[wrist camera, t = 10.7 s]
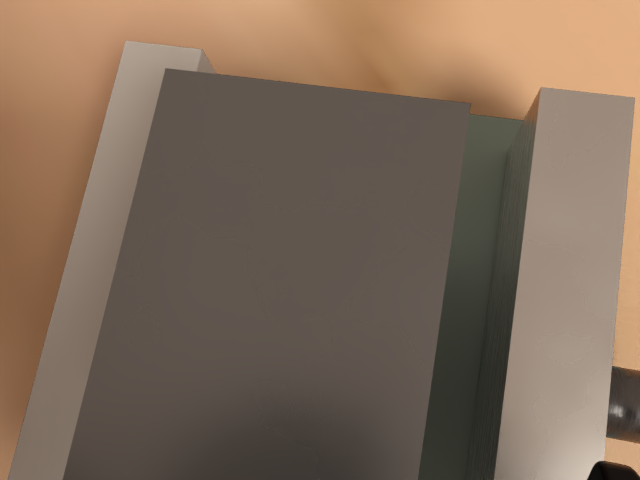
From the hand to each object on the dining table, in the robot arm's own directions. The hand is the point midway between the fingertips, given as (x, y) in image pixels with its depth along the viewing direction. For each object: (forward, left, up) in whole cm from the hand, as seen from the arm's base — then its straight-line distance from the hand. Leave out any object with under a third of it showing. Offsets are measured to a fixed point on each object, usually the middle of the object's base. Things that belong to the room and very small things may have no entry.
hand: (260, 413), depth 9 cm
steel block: (+1, +1, -8) cm, 8 cm away
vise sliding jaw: (+5, -4, -8) cm, 10 cm away
